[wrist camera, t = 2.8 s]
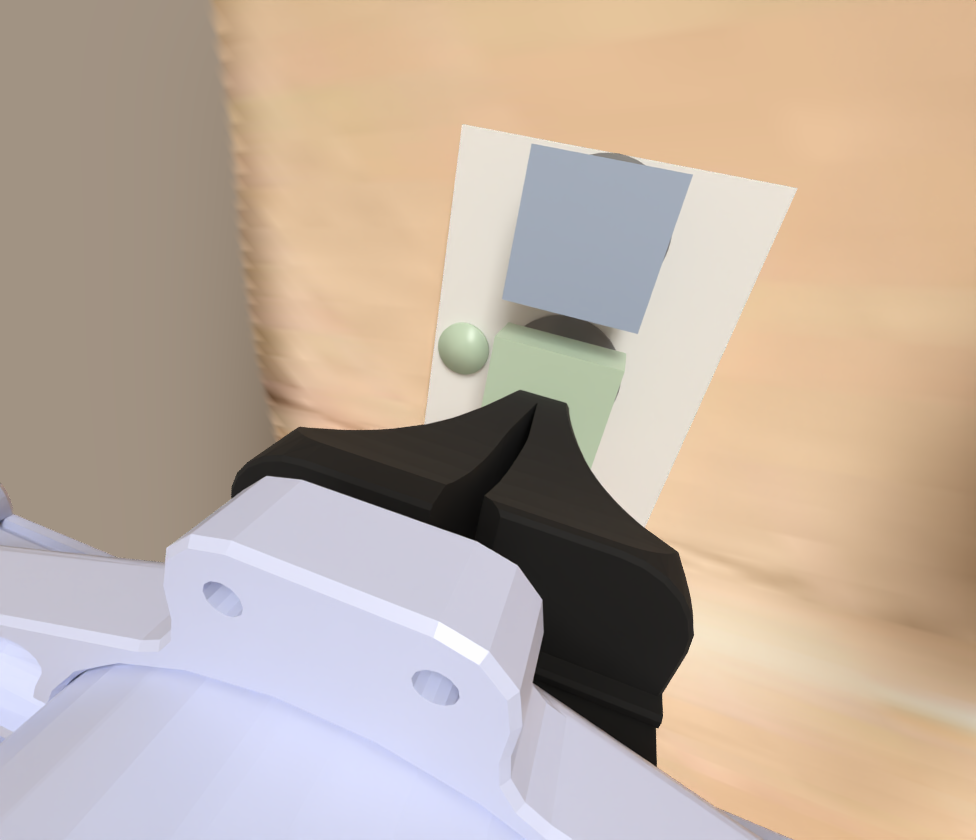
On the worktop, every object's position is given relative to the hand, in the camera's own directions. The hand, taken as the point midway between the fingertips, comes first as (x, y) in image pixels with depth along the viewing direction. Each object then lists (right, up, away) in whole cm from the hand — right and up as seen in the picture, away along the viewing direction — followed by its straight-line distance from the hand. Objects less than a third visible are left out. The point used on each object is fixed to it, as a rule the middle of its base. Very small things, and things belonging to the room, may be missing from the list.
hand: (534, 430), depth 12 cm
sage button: (+1, +1, +2) cm, 3 cm away
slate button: (+2, +5, 0) cm, 5 cm away
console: (+2, +3, +5) cm, 6 cm away
